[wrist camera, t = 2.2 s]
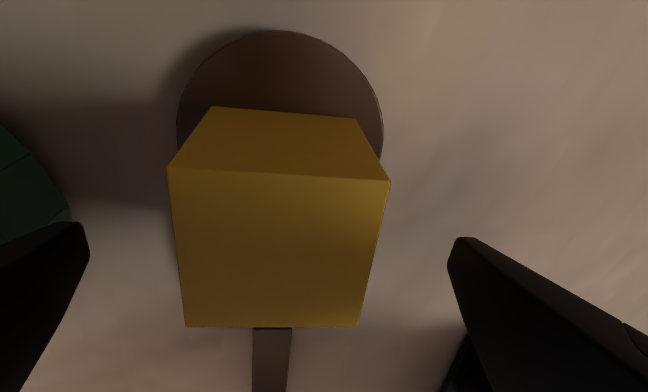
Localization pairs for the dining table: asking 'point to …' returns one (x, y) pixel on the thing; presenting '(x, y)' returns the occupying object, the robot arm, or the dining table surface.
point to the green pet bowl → (25, 192)
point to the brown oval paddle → (281, 96)
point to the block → (275, 219)
